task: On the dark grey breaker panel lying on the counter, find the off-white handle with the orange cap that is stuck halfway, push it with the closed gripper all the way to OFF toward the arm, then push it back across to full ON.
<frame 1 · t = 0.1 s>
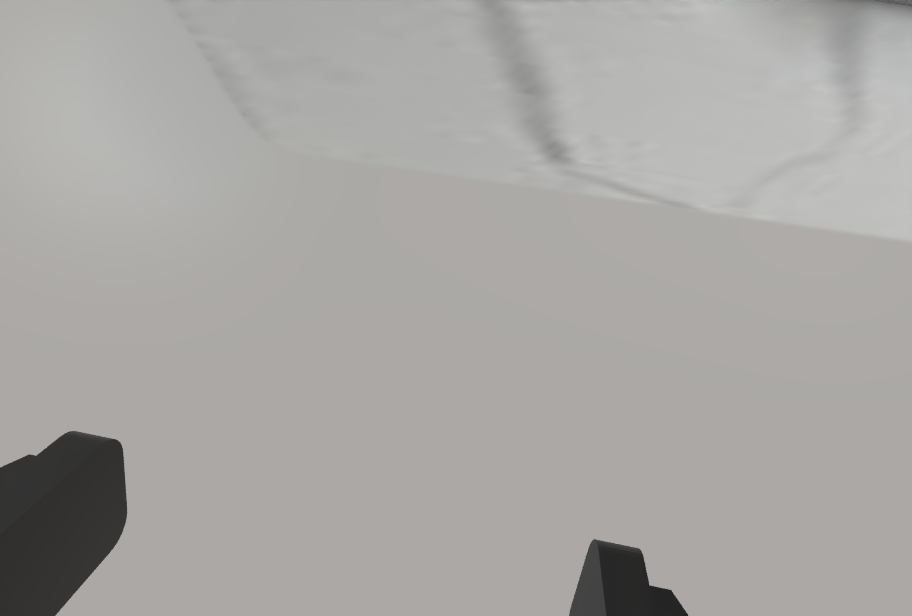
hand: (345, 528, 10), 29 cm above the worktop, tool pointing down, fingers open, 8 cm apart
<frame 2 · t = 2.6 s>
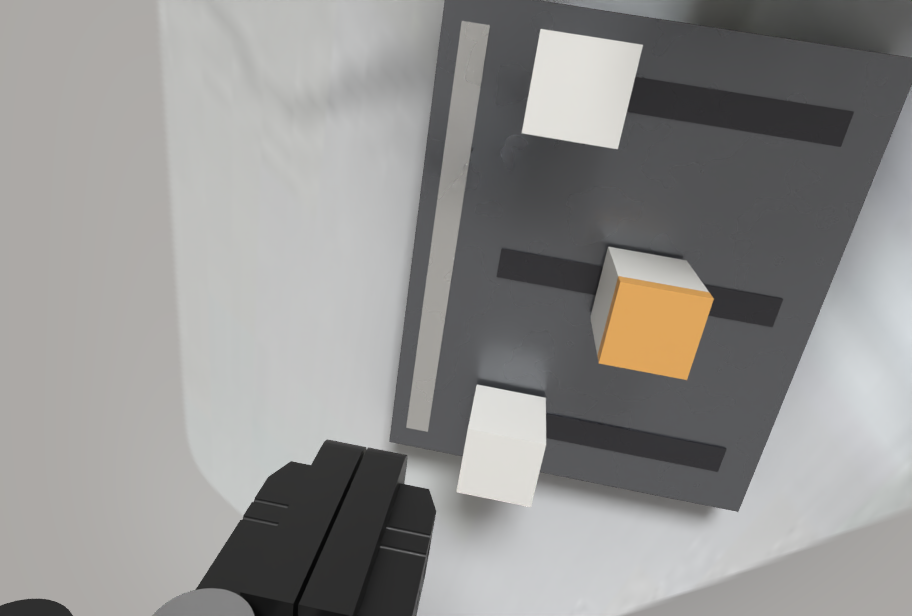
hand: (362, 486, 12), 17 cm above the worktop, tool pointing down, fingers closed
tripped breaker: (645, 309, 23), point 4 cm above the worktop, slide at 4.0 cm
breaker panel: (606, 266, 27), on the worktop
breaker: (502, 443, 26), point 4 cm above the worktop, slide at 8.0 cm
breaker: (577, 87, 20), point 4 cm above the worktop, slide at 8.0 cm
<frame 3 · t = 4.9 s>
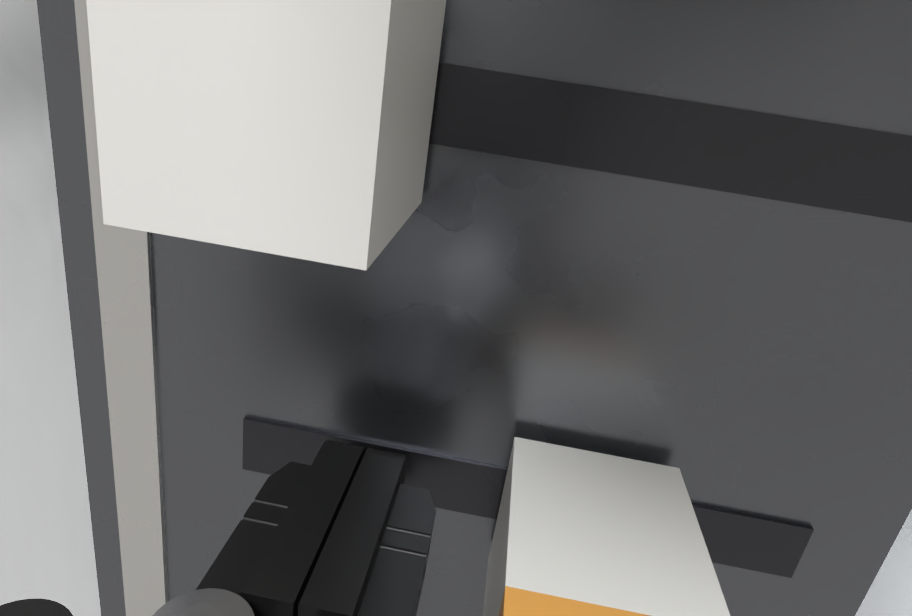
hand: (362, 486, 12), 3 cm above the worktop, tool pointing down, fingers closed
tripped breaker: (586, 603, 10), point 4 cm above the worktop, slide at 2.8 cm, touching gripper
breaker panel: (474, 429, 14), on the worktop
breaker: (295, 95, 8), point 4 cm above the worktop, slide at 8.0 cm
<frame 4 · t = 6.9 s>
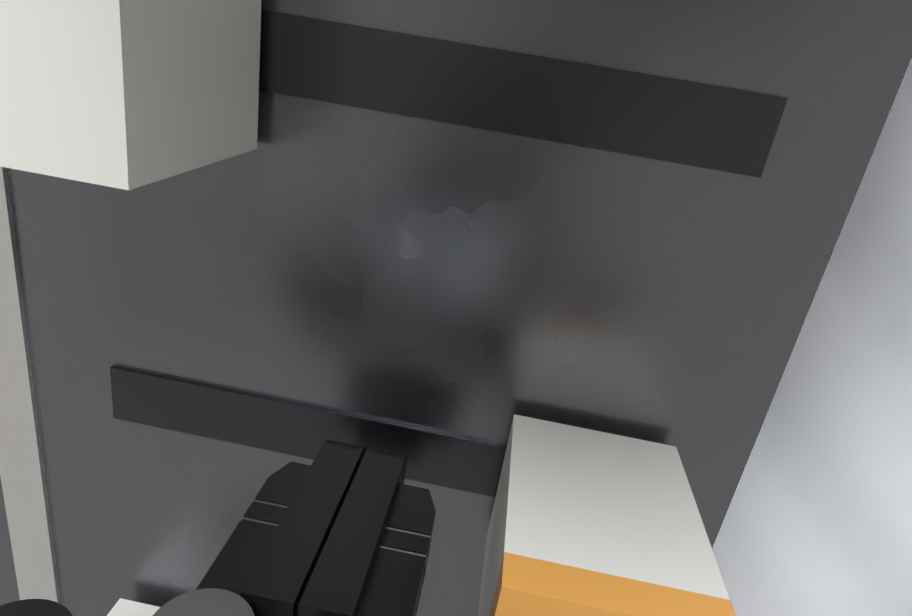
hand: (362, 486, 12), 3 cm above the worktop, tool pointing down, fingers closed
tripped breaker: (582, 576, 10), point 4 cm above the worktop, slide at -0.1 cm
breaker panel: (353, 386, 14), on the worktop
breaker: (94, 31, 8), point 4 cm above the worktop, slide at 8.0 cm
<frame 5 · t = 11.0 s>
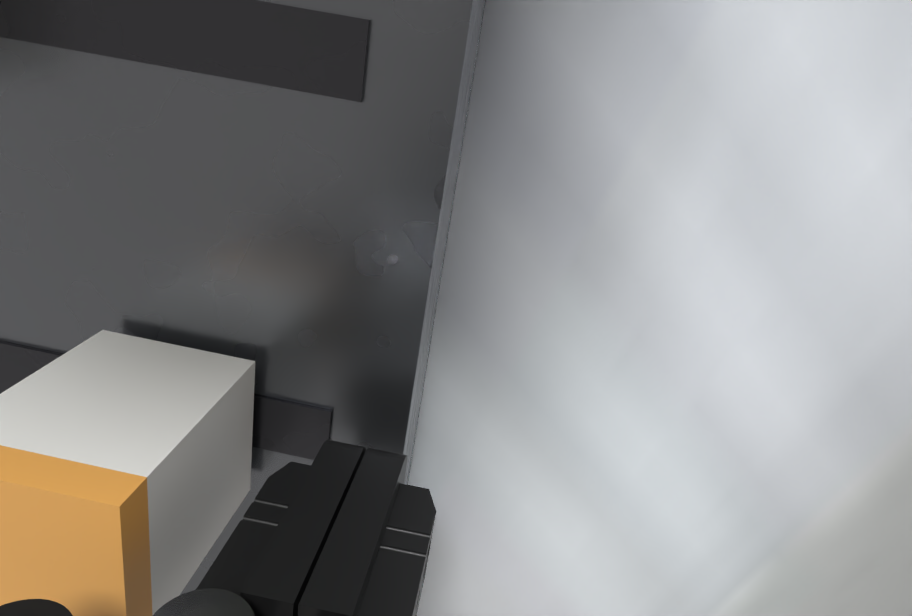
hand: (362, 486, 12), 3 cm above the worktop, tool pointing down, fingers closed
tripped breaker: (114, 477, 10), point 4 cm above the worktop, slide at 1.5 cm, touching gripper
breaker panel: (87, 330, 15), on the worktop
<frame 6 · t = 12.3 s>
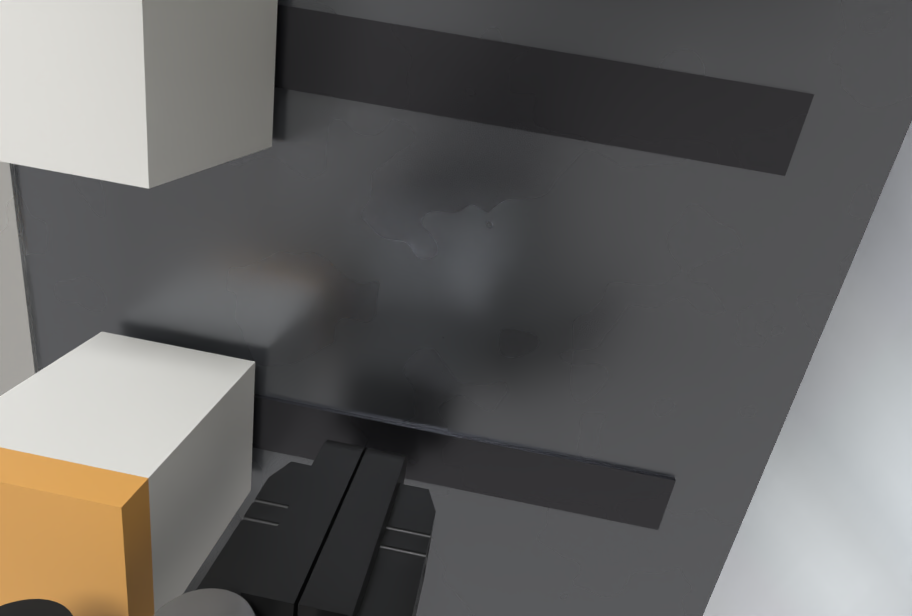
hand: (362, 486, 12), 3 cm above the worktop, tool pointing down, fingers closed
tripped breaker: (115, 478, 10), point 4 cm above the worktop, slide at 8.2 cm, touching gripper
breaker panel: (364, 387, 14), on the worktop
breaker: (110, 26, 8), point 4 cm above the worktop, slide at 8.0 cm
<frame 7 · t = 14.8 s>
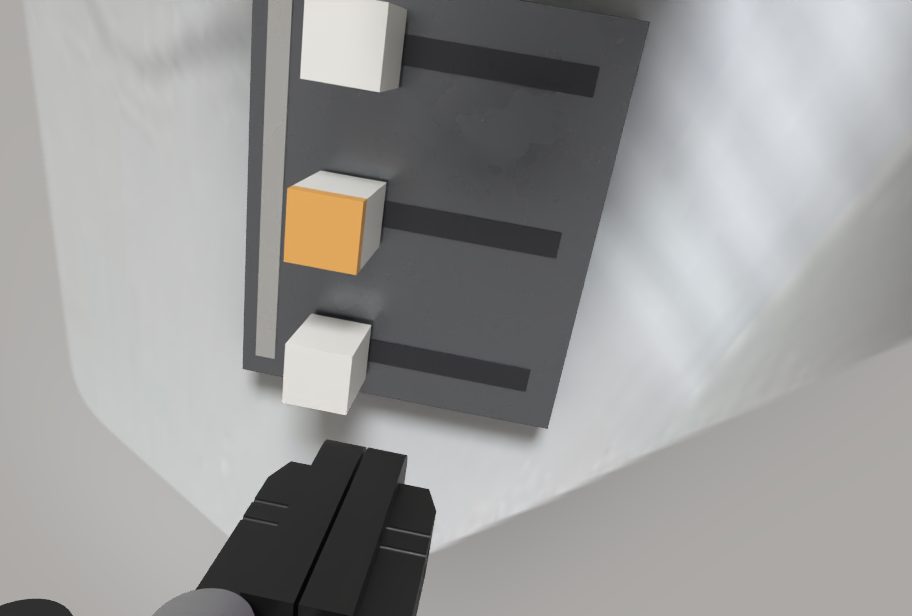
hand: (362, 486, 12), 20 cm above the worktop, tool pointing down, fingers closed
tripped breaker: (337, 220, 26), point 4 cm above the worktop, slide at 8.1 cm
breaker panel: (424, 209, 30), on the worktop
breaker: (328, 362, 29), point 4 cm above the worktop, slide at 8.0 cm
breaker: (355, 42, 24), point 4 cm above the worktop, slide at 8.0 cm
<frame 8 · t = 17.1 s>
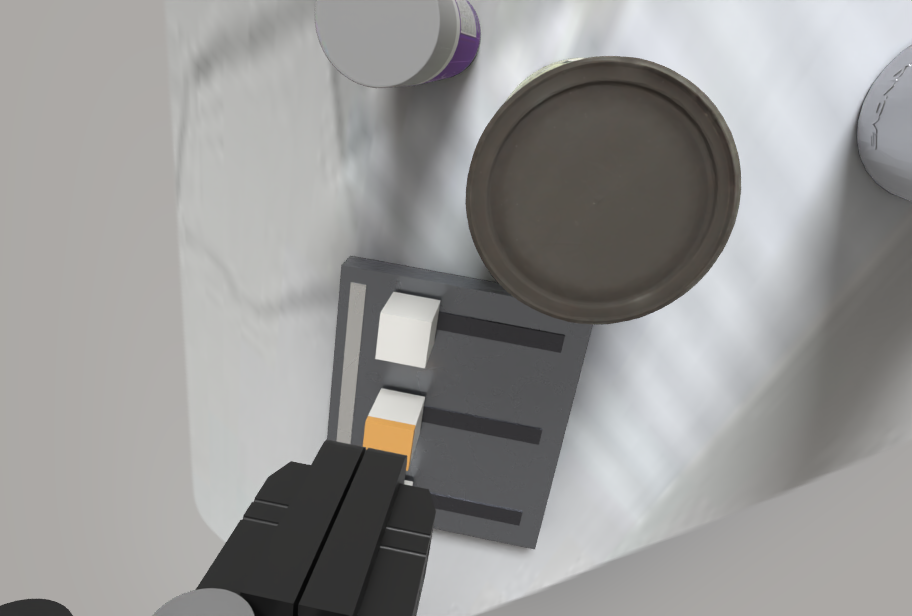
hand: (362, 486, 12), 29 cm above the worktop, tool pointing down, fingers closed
tripped breaker: (394, 428, 40), point 4 cm above the worktop, slide at 8.1 cm
container: (440, 34, 36), on the worktop
coffee can: (577, 150, 37), on the worktop
breaker panel: (449, 402, 44), on the worktop
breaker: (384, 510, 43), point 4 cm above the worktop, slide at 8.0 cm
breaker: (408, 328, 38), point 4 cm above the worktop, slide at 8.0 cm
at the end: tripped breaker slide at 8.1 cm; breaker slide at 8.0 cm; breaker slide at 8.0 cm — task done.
